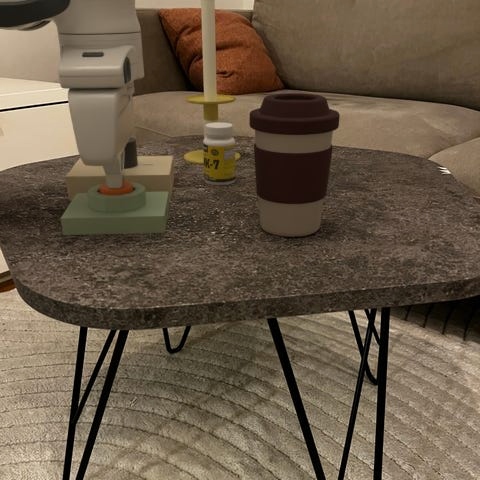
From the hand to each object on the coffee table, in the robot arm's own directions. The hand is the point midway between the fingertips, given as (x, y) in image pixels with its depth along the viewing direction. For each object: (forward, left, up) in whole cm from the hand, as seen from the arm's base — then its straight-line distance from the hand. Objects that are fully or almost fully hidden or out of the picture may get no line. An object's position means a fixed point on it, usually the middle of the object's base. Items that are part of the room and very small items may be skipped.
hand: (116, 185), depth 72 cm
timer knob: (-1, +14, -1) cm, 14 cm away
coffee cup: (+21, -4, -5) cm, 22 cm away
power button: (0, 0, -2) cm, 2 cm away
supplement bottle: (+13, +17, -5) cm, 22 cm away
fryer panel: (-1, +14, -5) cm, 15 cm away
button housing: (0, 0, -5) cm, 5 cm away
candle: (+12, +33, -5) cm, 36 cm away
